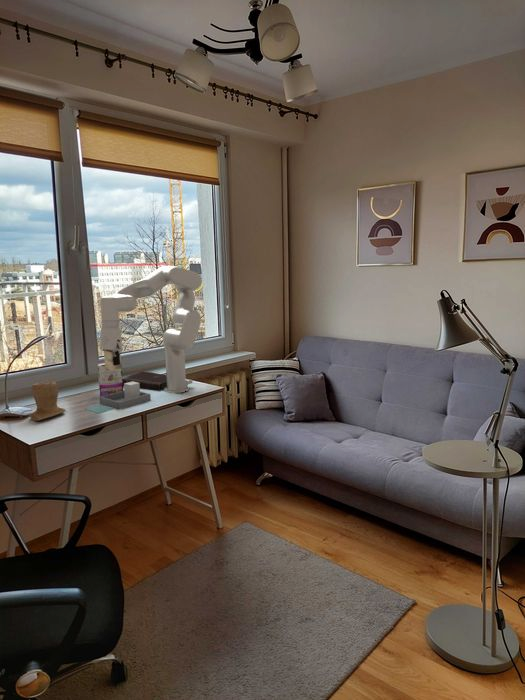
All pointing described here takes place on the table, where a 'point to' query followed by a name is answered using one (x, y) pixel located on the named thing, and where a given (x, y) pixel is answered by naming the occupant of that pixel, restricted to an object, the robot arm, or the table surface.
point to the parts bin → (123, 400)
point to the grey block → (131, 390)
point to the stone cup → (45, 401)
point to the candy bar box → (109, 380)
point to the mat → (99, 409)
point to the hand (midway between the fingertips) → (112, 363)
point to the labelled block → (110, 360)
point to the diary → (148, 380)
